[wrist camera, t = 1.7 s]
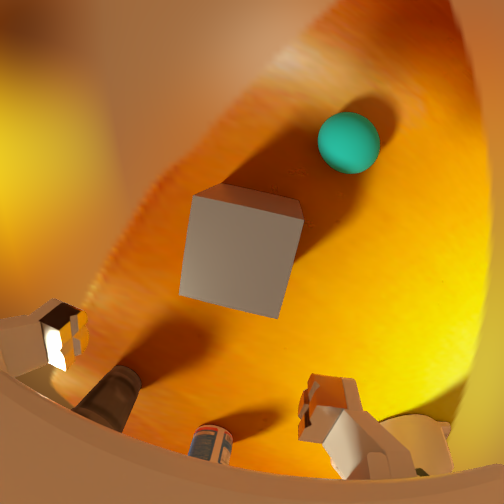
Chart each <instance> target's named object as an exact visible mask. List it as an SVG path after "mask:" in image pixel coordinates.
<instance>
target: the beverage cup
mask: <svg viewBox="0 0 504 504" xmlns="http://www.w3.org/2000/svg"><path fill="white" fill-rule="evenodd" d="M141 386H142V385H141V380H140V378H139V377H138V375H137V374H136V373H135V372H134V371H133V370H131V369H129V368H128V367H125V366H120V365H118V366H115V367H114V368H113V369H112V370H111V371H110V372H108V373H107V374H106V375H105V376H104V377H103V378H102V379H101V380H100V381H99V383H98V384H97V385H96V386H95V387H94V388H93V389H92V390H91V391H90V392H89V393H88V394H87V395H86V396H85V397H84V398H83V399H82V401H81V402H80V403H79V404H78V405H77V406H76V407H75V408H73V409H71V411H73V412H75V413H77V414H79V415H81V416H83V417H85V418H87V419H90V420H92V421H94V422H96V423H98V424H101V425H103V426H105V427H108V428H110V429H112V430H115V431H117V432H120V433H122V431H123V429H124V426H125V424H126V422H127V419H128V417H129V415H130V412H131V410H132V408H133V405H134V403H135V401H136V399H137V396H138V394H139V390H140V388H141Z"/></svg>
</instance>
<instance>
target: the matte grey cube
mask: <svg viewBox="0 0 504 504" xmlns="http://www.w3.org/2000/svg"><path fill="white" fill-rule="evenodd" d="M303 224H304V217H303V213H302V210H301V206H300V202H299V200H296V199H291V198H287V197H283V196H279V195H274V194H270V193H266V192H261V191H257V190H252V189H248V188H243V187H238V186H233V185H229V184H224V183H220V184H218V185H215V186H213V187H211V188H208V189H206V190H204V191H202V192H199V193H197V194H195V195H193V199H192V205H191V212H190V218H189V224H188V231H187V238H186V244H185V251H184V259H183V266H182V274H181V282H180V290H179V295H182V296H185V297H189V298H193V299H197V300H201V301H204V302H208V303H212V304H216V305H220V306H224V307H228V308H232V309H236V310H241V311H245V312H249V313H253V314H257V315H262V316H266V317H271V318H275V319H278V316H279V312H280V309H281V305H282V302H283V298H284V295H285V291H286V288H287V284H288V280H289V277H290V273H291V269H292V266H293V262H294V258H295V254H296V251H297V247H298V243H299V239H300V235H301V231H302V228H303Z"/></svg>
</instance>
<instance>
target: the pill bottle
mask: <svg viewBox="0 0 504 504" xmlns="http://www.w3.org/2000/svg"><path fill="white" fill-rule="evenodd" d="M232 443H233V438H232V435H231V434H230V433H229V432H228V431H227V430H226V429H224V428H222V427H219V426H216V425H203V426H200V427H199V428H197V429H196V431H195V433H194V437H193V440H192V443H191V446H190V450H189V453H188V456H191V457H195V458H199V459H203V460H206V461H211V462H215V463H219V464H224V465H229V459H230V454H231V449H232Z"/></svg>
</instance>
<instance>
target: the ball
mask: <svg viewBox="0 0 504 504" xmlns="http://www.w3.org/2000/svg"><path fill="white" fill-rule="evenodd" d="M318 148H319V152H320V154H321V156H322V158H323V159H324V161H325V162H326V163H327V164H328V165H329V166H330V167H331V168H333V169H334V170H336V171H338V172H341V173H346V174H355V173H360V172H363V171H365V170H366V169H368V168H369V167H370V166H371V165H372V164H373V163H374V162H375V160H376V159H377V157H378V154H379V150H380V139H379V135H378V132H377V130H376V128H375V127H374V125H373V124H372V123H371V122H370V121H369V120H368V119H367V118H365V117H364V116H362V115H359V114H357V113H353V112H342V113H338V114H335V115H333V116H331V117H330V118H328V119H327V120H326V121H325V122H324V124H323V125H322V127H321V129H320V131H319V135H318Z"/></svg>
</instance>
